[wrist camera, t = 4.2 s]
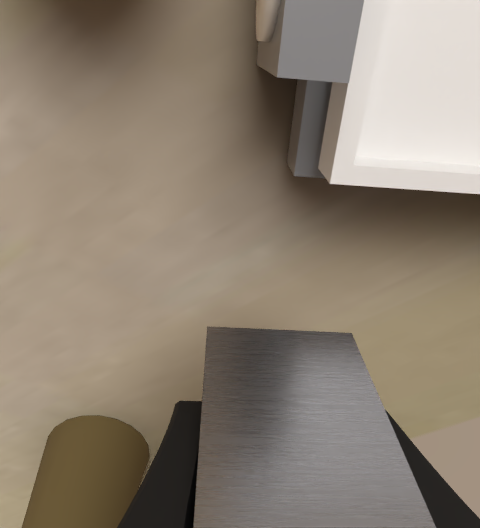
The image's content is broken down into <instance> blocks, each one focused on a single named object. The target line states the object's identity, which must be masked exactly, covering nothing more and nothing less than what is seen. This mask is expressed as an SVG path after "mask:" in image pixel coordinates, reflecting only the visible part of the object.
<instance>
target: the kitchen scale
mask: <svg viewBox="0 0 480 528" xmlns="http://www.w3.org/2000/svg"><path fill="white" fill-rule="evenodd" d="M256 38H257V41H258V50H257V62H256V65H258V66H259V67H261V68H263V69H264V70H266V71H268V72H269V73H271V74H272V75H274V76H276V77H279V78H291V79H298V81H297V89H296V96H295V104H294V112H293V119H292V127H291V134H290V142H289V150H288V157H287V164H288V166H289V168H290V170H291V171H292V173H293V175H294V176H300V177H315V178H326V179H327V181H328V182H329V183H330V184H340V185H354V186H369V187H383V188H398V189H412V190H427V191H441V192H456V193H470V194H480V0H256Z"/></svg>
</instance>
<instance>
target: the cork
mask: <svg viewBox="0 0 480 528" xmlns="http://www.w3.org/2000/svg"><path fill="white" fill-rule="evenodd" d="M148 459H149V448H148V444H147V443H146V441H145V439H144V438H143V436H142V435H141V434H140V433H139V432H138V431H136V430H135V429H134V428H133V427H132V426H130V425H128V424H126V423H124V422H121V421H119V420H117V419H113V418H109V417H104V416H80V417H76V418H72V419H68V420H66V421H64V422H63V423H61V424H59V425H58V426H56V427H55V428H54V429H53V431H52V432H51V433H50V435H49V436H48V439H47V442H46V446H45V449H44V453H43V456H42V460H41V463H40V467H39V470H38V473H37V477H36V480H35V484H34V487H33V491H32V494H31V498H30V501H29V504H28V508H27V511H26V515H25V518H24V522H23V525H22V528H117V526H118V525H119V523H120V521H121V520H122V518H123V516H124V515H125V513H126V511H127V509H128V507H129V506H130V504H131V502H132V500H133V499H134V497H135V495H136V493H137V491H138V488H139V485H140V482H141V479H142V476H143V473H144V470H145V467H146V464H147V461H148Z"/></svg>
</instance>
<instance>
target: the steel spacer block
mask: <svg viewBox="0 0 480 528" xmlns="http://www.w3.org/2000/svg"><path fill="white" fill-rule="evenodd" d="M193 528H436V526H435V524H434V522H433V519H432V517H431V515H430V512H429V510H428V508H427V506H426V503H425V501H424V499H423V496H422V494H421V492H420V489H419V487H418V485H417V483H416V480H415V478H414V476H413V473H412V471H411V469H410V466H409V464H408V462H407V460H406V457H405V455H404V453H403V450H402V448H401V446H400V443H399V441H398V439H397V437H396V434H395V432H394V430H393V427H392V425H391V423H390V420H389V418H388V416H387V414H386V411H385V409H384V407H383V404H382V402H381V400H380V397H379V395H378V393H377V391H376V388H375V386H374V384H373V381H372V379H371V377H370V374H369V372H368V370H367V368H366V365H365V363H364V361H363V358H362V356H361V354H360V351H359V349H358V347H357V345H356V342H355V340H354V338H353V335H352V333H338V332H316V331H294V330H272V329H250V328H227V327H207V338H206V353H205V367H204V382H203V396H202V411H201V425H200V440H199V454H198V469H197V483H196V498H195V512H194V527H193Z"/></svg>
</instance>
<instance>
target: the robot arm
mask: <svg viewBox="0 0 480 528" xmlns="http://www.w3.org/2000/svg"><path fill="white" fill-rule="evenodd" d="M201 411H202V402H200V401H179V402H178V403H176V404H175V408H174V411H173V415H172V418H171V421H170V423H169V426H168V429H167V431H166V434H165V436H164V438H163V441H162V443H161V445H160V448H159V450H158V452H157V454H156V456H155V458H154V460H153V462H152V464H151V466H150V468H149V470H148V472H147V474H146V476H145V478H144V480H143V482H142V484H141V486H140V488H139V490H138V491H137V493H136V495H135V497H134V499H133V500H132V502H131V504H130V506H129V507H128V509H127V511H126V513H125V515H124V516H123V518H122V520H121V521H120V523H119V525H118V526H117V528H193V527H194V512H195V498H196V483H197V469H198V454H199V440H200V425H201ZM385 411H386V410H385ZM386 414H387V416H388V418H389V420H390V423H391V425H392V427H393V430H394V432H395V434H396V437H397V439H398V441H399V443H400V446H401V448H402V450H403V453H404V455H405V457H406V460H407V462H408V464H409V466H410V469H411V471H412V473H413V476H414V478H415V480H416V483H417V485H418V487H419V489H420V492H421V494H422V496H423V499H424V501H425V503H426V506H427V508H428V510H429V512H430V515H431V517H432V519H433V522H434V524H435V526H436V528H480V519H479V518H478V517H477V515H476V514H475V513H474V512H473V511H472V510H471V509H470V508H469V507H468V506H467V505H466V504H465V503H464V502H463V500H462V499H460V497H459V496H458V495H457V494H456V493H455V492H454V490H453V489H452V488H451V487H450V486H449V485H448V484H447V483H446V481H445V480H444V479H443V478H442V477H441V476H440V475H439V473H438V472H437V471H436V470H435V469H434V468H433V466H432V465H431V464H430V463H429V462H428V461H427V459H426V458H425V457H424V456H423V455H422V453H421V452H420V451H419V450H418V449H417V447H416V446H415V445H414V444H413V443H412V441H411V440H410V439H409V438H408V436H407V435H406V434H405V433H404V432H403V430H402V429H401V428H400V427H399V425H398V424H397V423H396V422H395V421H394V419H393V418H392V417H391V416H390V415H389V413H388V412H387V411H386Z"/></svg>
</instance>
